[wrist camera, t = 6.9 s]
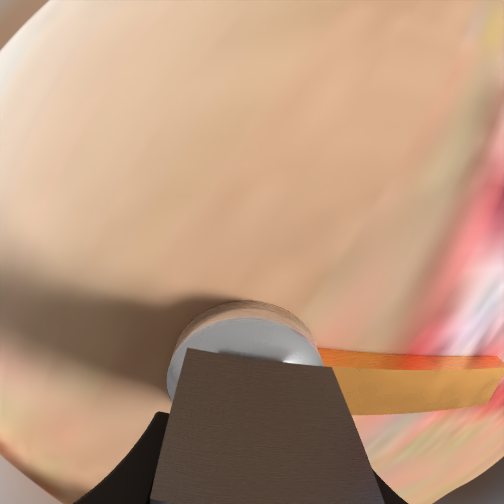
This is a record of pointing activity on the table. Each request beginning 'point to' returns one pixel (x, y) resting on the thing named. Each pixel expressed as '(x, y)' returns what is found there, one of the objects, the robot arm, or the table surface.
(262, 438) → the hollow square tube
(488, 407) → the table surface
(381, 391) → the ratchet
